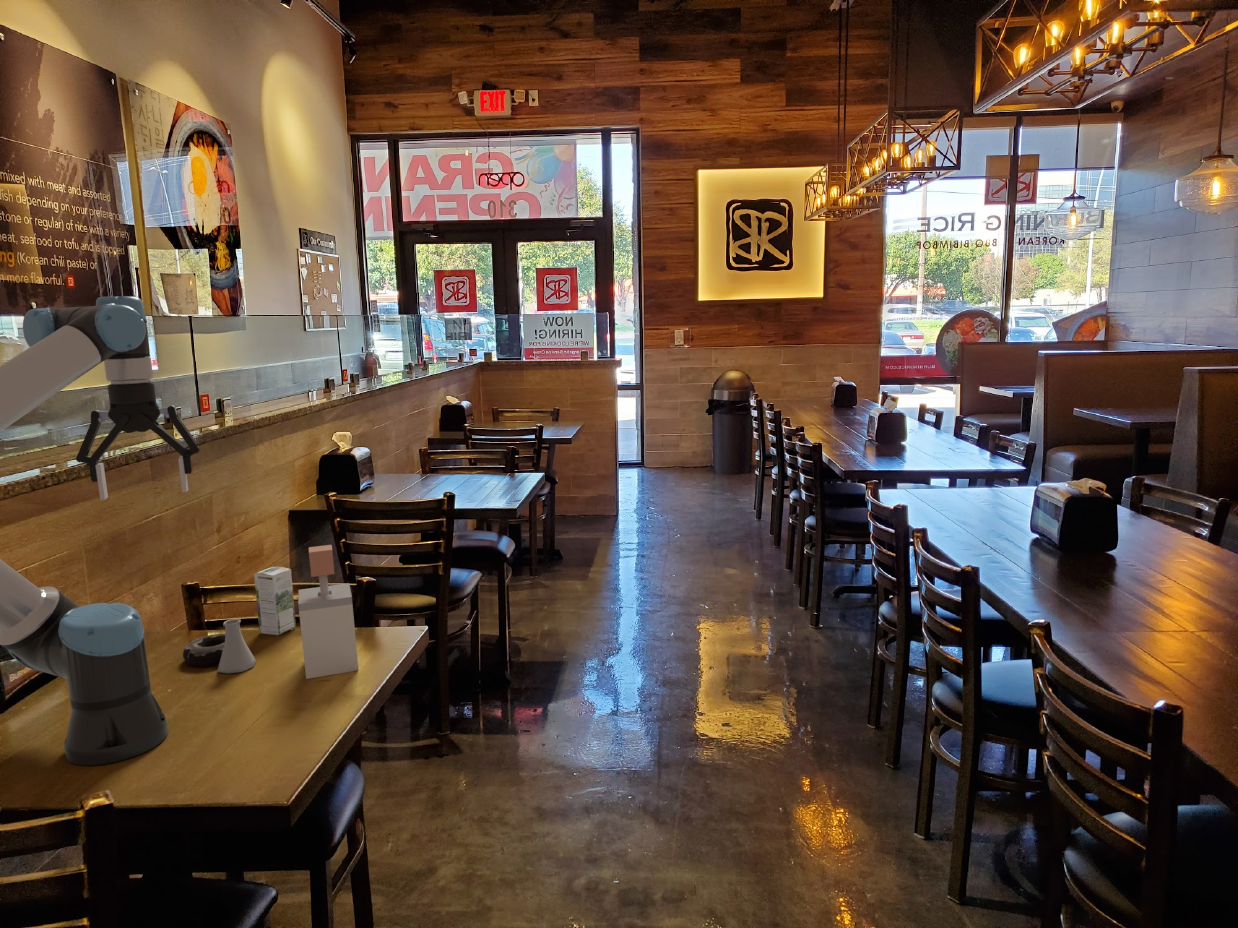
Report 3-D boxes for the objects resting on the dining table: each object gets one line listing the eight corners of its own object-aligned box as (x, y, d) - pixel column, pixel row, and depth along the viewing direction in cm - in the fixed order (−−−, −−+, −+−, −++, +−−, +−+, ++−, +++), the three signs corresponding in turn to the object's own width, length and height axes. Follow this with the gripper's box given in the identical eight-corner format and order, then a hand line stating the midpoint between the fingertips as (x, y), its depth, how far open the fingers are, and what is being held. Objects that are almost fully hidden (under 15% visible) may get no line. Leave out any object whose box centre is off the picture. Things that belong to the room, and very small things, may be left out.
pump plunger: (341, 644, 173) (332, 549, 170) (318, 648, 172) (308, 552, 169) (340, 637, 177) (331, 544, 174) (318, 641, 176) (308, 547, 173)
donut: (214, 645, 190) (212, 628, 189) (256, 651, 186) (254, 633, 185) (171, 666, 179) (168, 648, 178) (215, 672, 175) (212, 653, 174)
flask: (262, 660, 180) (257, 615, 178) (244, 674, 172) (239, 627, 171) (229, 660, 180) (224, 615, 179) (210, 674, 173) (205, 627, 172)
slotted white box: (358, 670, 173) (351, 596, 170) (306, 678, 169) (298, 604, 167) (355, 652, 182) (349, 583, 179) (305, 660, 178) (298, 589, 176)
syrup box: (277, 625, 201) (271, 565, 199) (297, 627, 199) (291, 567, 196) (259, 633, 196) (252, 572, 193) (279, 636, 194) (272, 574, 191)
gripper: (207, 377, 165) (219, 484, 168) (57, 384, 156) (74, 498, 160) (202, 379, 158) (216, 491, 161) (46, 387, 149) (63, 505, 153)
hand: (145, 494), depth 161 cm, fingers open, 13 cm apart
